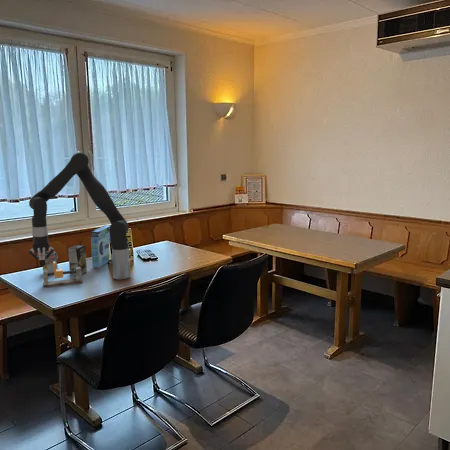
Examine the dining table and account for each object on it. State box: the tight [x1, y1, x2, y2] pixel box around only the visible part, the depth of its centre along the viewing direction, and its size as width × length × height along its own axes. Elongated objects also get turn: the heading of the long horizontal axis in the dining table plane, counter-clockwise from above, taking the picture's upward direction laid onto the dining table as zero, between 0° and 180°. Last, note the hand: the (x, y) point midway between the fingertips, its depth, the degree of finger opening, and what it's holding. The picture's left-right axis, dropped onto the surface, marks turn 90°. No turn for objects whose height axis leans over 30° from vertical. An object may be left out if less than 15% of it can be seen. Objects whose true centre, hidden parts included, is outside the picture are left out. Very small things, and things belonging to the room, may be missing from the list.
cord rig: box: [42, 267, 83, 288], centre depth 239 cm, size 20×6×8 cm, turn 113°
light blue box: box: [90, 225, 111, 269], centre depth 276 cm, size 20×5×23 cm, turn 169°
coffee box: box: [67, 244, 88, 276], centre depth 257 cm, size 9×6×16 cm
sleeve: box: [53, 262, 64, 279], centre depth 237 cm, size 4×4×8 cm
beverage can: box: [41, 251, 59, 273], centre depth 258 cm, size 9×8×12 cm
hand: (42, 266), depth 234 cm, fingers closed
